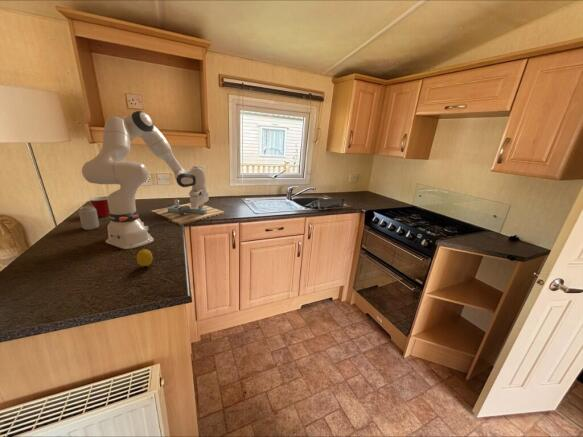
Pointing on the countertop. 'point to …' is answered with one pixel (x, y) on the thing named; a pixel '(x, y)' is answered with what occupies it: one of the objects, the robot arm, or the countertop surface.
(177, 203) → the pin
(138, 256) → the lemon
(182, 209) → the keeper
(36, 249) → the countertop surface
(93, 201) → the plastic cup
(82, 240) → the countertop surface
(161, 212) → the board
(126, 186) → the robot arm
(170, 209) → the link
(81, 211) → the can
